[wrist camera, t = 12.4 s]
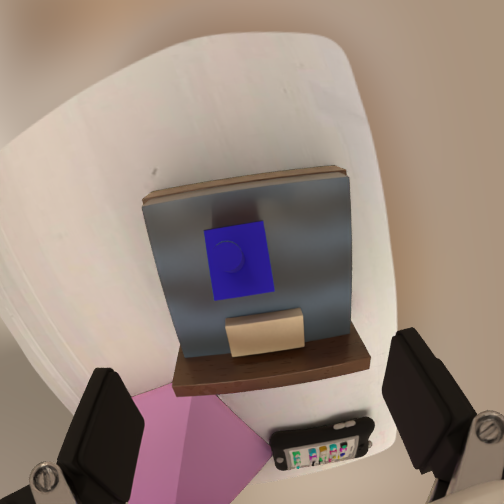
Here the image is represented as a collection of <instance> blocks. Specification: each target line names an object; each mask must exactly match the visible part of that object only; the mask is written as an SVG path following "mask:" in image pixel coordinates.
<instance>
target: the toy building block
mask: <svg viewBox="0 0 504 504" xmlns="http://www.w3.org/2000/svg"><path fill="white" fill-rule="evenodd" d="M203 231H204V238H205V246H206V252H207V259H208V266H209V273H210V279H211V285H212V292H213V298H214V301H217V300H224V299H230V298H237V297H243V296H250V295H256V294H262V293H268V292H274V291H275V288H274V281H273V275H272V269H271V263H270V257H269V251H268V245H267V239H266V233H265V227H264V221H263V220H261V221H255V222H249V223H243V224H237V225H231V226H225V227H219V228H213V229H207V230H203Z"/></svg>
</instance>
